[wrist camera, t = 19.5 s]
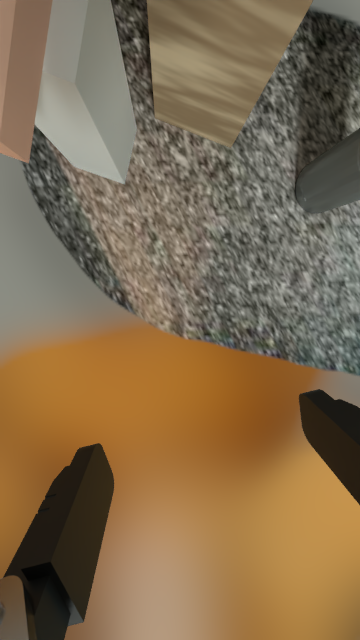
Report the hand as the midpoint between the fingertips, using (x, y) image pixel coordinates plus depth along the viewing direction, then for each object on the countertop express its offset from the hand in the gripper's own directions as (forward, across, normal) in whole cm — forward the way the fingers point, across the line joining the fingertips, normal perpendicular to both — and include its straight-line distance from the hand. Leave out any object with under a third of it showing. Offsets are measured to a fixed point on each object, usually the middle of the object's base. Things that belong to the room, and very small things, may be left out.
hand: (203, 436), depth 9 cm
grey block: (+38, +5, -28) cm, 48 cm away
